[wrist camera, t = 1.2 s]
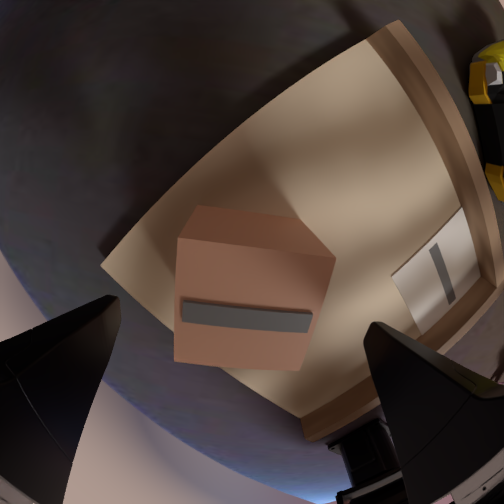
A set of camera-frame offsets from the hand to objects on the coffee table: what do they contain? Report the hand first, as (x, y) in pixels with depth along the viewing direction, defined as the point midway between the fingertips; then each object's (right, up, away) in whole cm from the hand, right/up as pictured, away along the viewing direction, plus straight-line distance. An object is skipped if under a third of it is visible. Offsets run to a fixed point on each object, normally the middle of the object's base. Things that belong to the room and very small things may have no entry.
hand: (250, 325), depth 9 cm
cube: (0, +2, +5) cm, 5 cm away
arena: (+6, +1, +7) cm, 9 cm away
